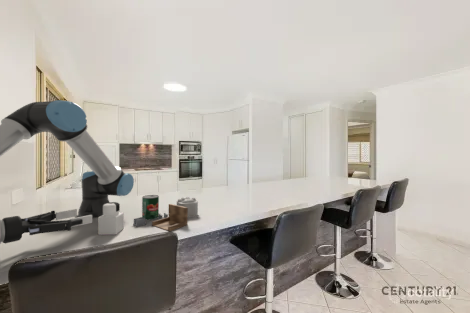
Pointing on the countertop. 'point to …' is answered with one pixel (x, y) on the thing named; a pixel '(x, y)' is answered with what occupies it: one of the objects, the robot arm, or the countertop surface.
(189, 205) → the lumpy-topped squat cylinder
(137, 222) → the clip
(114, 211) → the medicine bottle
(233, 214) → the countertop surface
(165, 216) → the clip
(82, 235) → the countertop surface
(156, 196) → the canned tomato
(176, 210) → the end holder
